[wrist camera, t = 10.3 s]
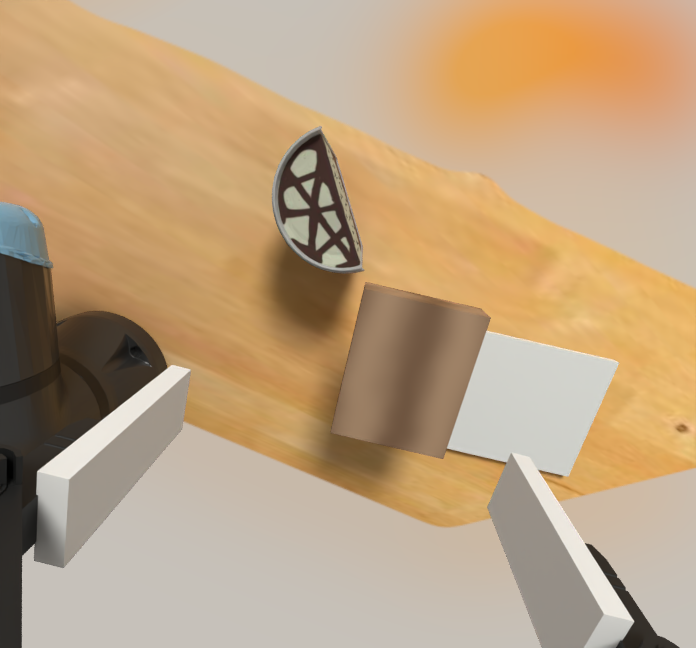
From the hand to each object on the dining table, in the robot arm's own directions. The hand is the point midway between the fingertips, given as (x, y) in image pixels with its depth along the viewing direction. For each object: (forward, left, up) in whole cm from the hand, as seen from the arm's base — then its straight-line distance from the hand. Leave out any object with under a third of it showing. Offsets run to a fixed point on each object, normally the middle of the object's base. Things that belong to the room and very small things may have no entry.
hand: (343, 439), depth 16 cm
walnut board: (+5, -4, -20) cm, 20 cm away
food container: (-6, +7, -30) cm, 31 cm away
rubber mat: (+21, -9, -29) cm, 37 cm away
